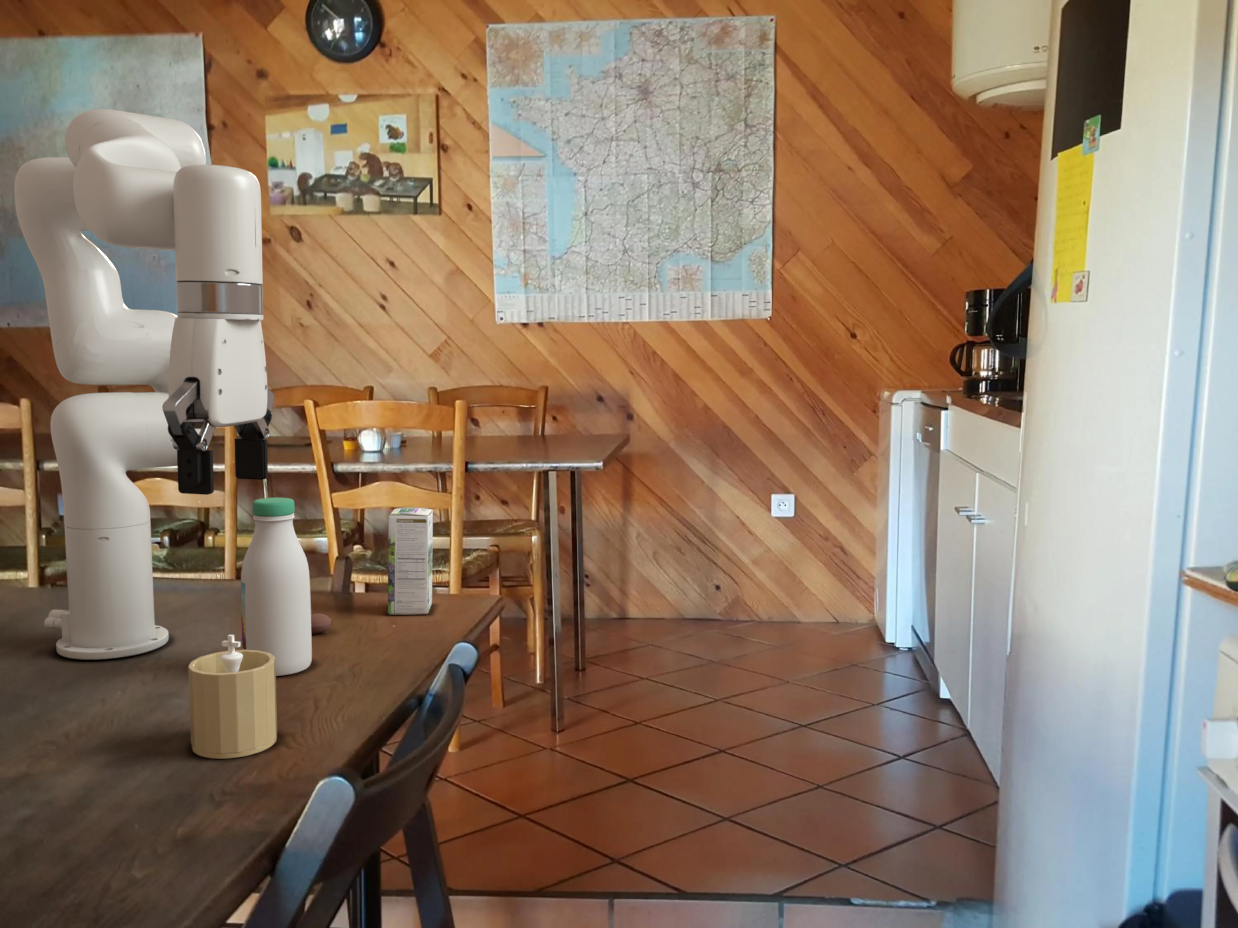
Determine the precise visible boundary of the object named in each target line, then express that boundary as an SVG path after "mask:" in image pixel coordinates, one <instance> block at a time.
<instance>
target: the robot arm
mask: <svg viewBox="0 0 1238 928" xmlns="http://www.w3.org/2000/svg"><path fill="white" fill-rule="evenodd" d="M64 146H65V152H66V154H67V156H68V157H61V156H46V157H45V156H44V157H37V158H33V159H31V160H28V161H27V162H25V163H23V164H22V165H21V166H20V167H19V168H18V171H17V172H16V175H15V179H14V188H13V189H14V191H13V192H14V205H15V211H16V216H17V217H16V218H17V220H18V223H19V228H20V230H21V233H22V236H23V238H24V240H25V243H26V245H27V247H28V249H29V251H30V253H31V256H32V257H33V259H34V261H35V263H36V265H37V267H38V270H39V273H40V275H41V278H42V282H43V286H44V287H43V288H44V295H45V302H46V309H47V318H48V323H49V330H50V338H51V344H52V350H53V356H54V360H55V364H56V367H57V369H58V371H59V373H60V375H61V377H63V379H65V380H67V381H69V382H71V383H73V384H79V385H88V386H135V385H137V386H138V385H139V386H140V385H142V386H144V385H146V386H150V387H151V388H152V389H153V390H154V391H149V392H147V391H146V392H132V391H122V392H121V391H119V392H118V391H117V392H116V391H115V392H114V391H113V392H91V393H82V394H77V395H73V396H70V397H67V398H66V399H64V400H62V401H61V402H60V403H58V404H57V405H56V407H55V408H54V409H53V411H52V413H51V416H50V423H49V424H50V435H51V441H52V445H53V450H54V455H55V458H56V462H57V467H58V472H59V478H60V487H61V495H62V507H63V524H64V541H65V542H64V543H65V560H66V561H65V562H66V581H67V584H66V585H67V603H68V609H51V610H50V611H49V613H48V615H47V617H46V618H45V619H44V621H43V626H44V628H45V629H51V630H52V629H54V630H57V629H60V630H61V637H60V638H59V639H58V640H57V641H56V643H55V648H56V653H57V654H58V655H60V656H61V657H64V658H67V659H72V660H84V661H87V660H89V661H90V660H91V661H99V660H100V661H101V660H112V659H120V658H127V657H132V656H137V655H142V654H146V653H149V652H152V651H155V650H156V649H159V648H161V647H163V646H164V645H166V644H167V643H168V642H169V639H170V635H169V630H168V629H167V628H166V627H163V626H161V625H158V624H157V625H156V621H155V597H154V576H153V575H154V572H153V551H152V550H153V547H152V525H151V524H152V523H151V509H150V504H149V501H148V499H147V497H146V496H145V494H144V492H142V491H141V489H140V488H139V487H138V486H137V485H136V484H135V483H134V482H133V481H132V480H131V479H130V478H129V477H128V475H127V472H129V471H133V470H140V469H156V468H157V469H158V468H169V467H177V491H178V493H180V494H183V495H184V494H187V495H202V496H203V495H204V496H208V495H212V494H213V493H214V492H215V491H214V490H215V481H214V478H215V477H214V450H213V449H208V448H209V445H210V444H211V440H212V439H213V436H214V433H215V431H216V428H226V427H234V429H235V431H236V433H237V435H238V437H237V438H234V469H235V470H234V471H235V477H236V478H237V479H239V480H254V481H255V480H257V481H264V480H266V479H268V476H269V470H268V469H269V466H268V465H269V463H268V462H269V461H268V460H269V459H268V439H269V438H270V434H271V433H270V432H271V431H270V429H269V426H270V424H271V421H272V419H273V418H272V417H273V414H272V410H273V405H274V400H275V394H274V392H273V391H272V390H271V389H269V387H268V373H267V371H268V370H267V359H266V350H265V341H264V334H263V333H264V332H263V327H262V321H264V319H265V318H264V286H263V284H264V282H263V279H264V278H263V277H264V276H263V274H264V273H263V240H262V239H263V233H262V232H263V231H262V230H263V229H262V227H263V226H262V222H263V221H262V192H261V185H260V182H259V180H258V178H257V176H256V175H255V174H253V172H251V171H248V170H247V169H244V168H239V167H234V166H228V165H221V164H220V165H219V164H207V156H206V150H205V146H204V143H203V141H202V138H201V137H200V135H199V133H197V131H196V130H195V129H194V128H193V127H192V126H191V125H189V124H188V123H186V122H185V121H181V120H179V119H175V118H168V117H162V116H155V115H149V114H144V113H137V112H132V111H131V112H130V111H124V110H119V109H118V110H117V109H109V108H100V109H99V108H98V109H91V110H87V111H84V112H82V113H80V114H78V115H77V116H76V117H74V118H73V120H71V122H70V123H69V125H68V126H67V128H66V130H65V134H64ZM82 231H87V232H91V234H93V235H94V236H95V237H96V238H98V239H99V240H100V241H101V242H103V243H106V244H108V245H110V246H114V247H118V248H124V249H139V250H155V251H169V252H174V256H175V257H174V259H175V261H174V262H175V282H176V283H175V289H176V291H175V293H176V314H175V313H173V312H170V311H165V310H161V309H159V310H158V309H132V308H129V307H128V306H127V305H126V304H125V302H124V298H123V291H122V283H121V278H120V274H119V271H118V270H117V268H116V267H115V265H114V264H113V262H112V261H111V260H110V259H109V258H108V257H107V255H106V254H105V253H104V252H103V251H102V250H101V249H100V248H99V247H98V246H97V245H95V243H93V241H91V240H89V238H87V237H86V236H85V235H84V234H83V233H82Z"/></svg>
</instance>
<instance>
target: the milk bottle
mask: <svg viewBox="0 0 1238 928" xmlns="http://www.w3.org/2000/svg"><path fill="white" fill-rule="evenodd" d="M295 507H296V506H295V500H294V499H293V498H289V497H264V498H258V499H255V500H253V502H252V514H253V517H252V520H254V523H255V524H254V530H253V534H252V538H251V541H250V543H249V546H248V548H247V551H246V553H245V555H244V558H243V561H242V565H241V573H240V614H241V615H240V617H241V619H240V621H241V647H242V648H241V650H259V651H263V652H267V653H271V654H272V655H273V656H274V657H275V665H276V677H278V676H287V675H288V676H289V675H293V674H296V673H300V672H302V671H304V670H307V669H308V668H309V667H310V666H311V664H312V661H313V660H312V659H313V647H312V645H313V644H312V643H313V642H312V639H313V638H312V633H311V615H312V603H311V600H312V599H311V579H310V578H311V577H310V569H309V568H310V567H309V562H308V559H307V556H306V553H305V551H304V548H303V547H302V546H301V543H300V541H299V539H298V537H297V534H296V531H295V528H294V519H295V517H296V516H295V511H296V509H295Z"/></svg>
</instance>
